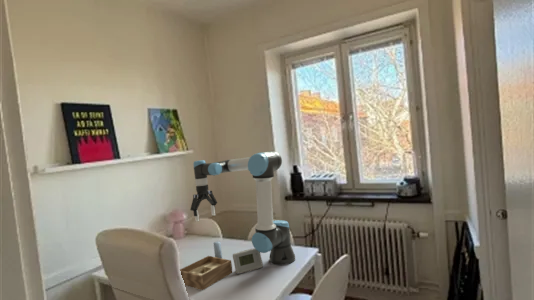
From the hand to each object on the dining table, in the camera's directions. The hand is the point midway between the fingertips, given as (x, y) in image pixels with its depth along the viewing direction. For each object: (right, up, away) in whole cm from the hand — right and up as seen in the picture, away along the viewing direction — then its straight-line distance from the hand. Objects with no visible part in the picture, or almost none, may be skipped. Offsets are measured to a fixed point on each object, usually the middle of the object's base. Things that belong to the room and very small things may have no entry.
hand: (205, 218), depth 204 cm
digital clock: (+29, -24, -24) cm, 44 cm away
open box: (+6, -26, -29) cm, 40 cm away
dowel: (+11, -25, -14) cm, 31 cm away
